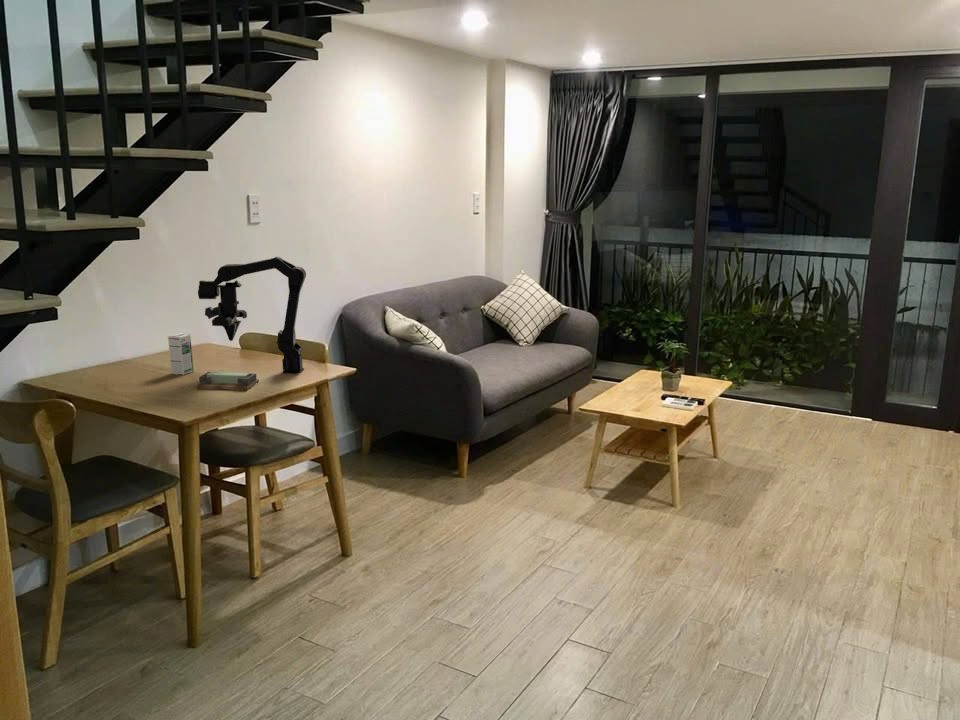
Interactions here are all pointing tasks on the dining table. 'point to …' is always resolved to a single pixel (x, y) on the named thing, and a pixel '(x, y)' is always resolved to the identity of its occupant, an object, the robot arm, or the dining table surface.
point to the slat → (226, 377)
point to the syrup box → (180, 353)
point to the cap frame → (242, 383)
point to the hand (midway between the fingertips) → (231, 340)
